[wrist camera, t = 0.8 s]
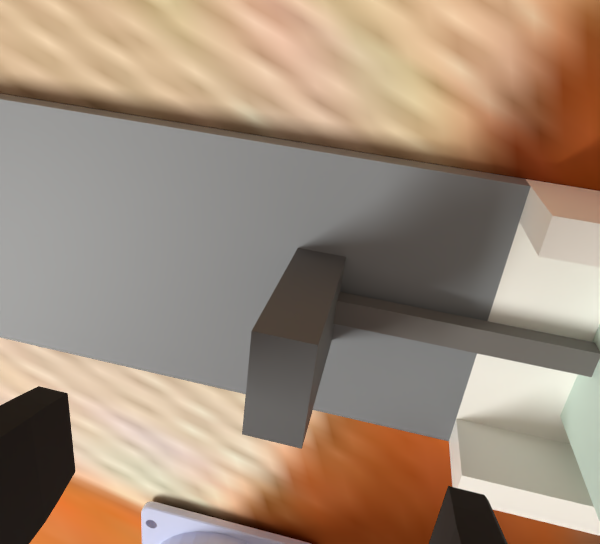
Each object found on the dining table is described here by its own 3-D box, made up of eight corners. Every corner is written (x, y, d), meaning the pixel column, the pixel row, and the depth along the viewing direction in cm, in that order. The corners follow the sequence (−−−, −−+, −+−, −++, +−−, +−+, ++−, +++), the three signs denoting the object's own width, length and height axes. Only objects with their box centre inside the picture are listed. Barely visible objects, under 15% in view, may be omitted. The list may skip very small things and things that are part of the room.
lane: (754, 495, 17) (824, 590, 14) (4, 324, 21) (-65, 372, 18) (930, 244, 13) (1077, 305, 10) (-33, 88, 17) (-128, 99, 14)
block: (730, 453, 16) (853, 618, 11) (284, 355, 18) (239, 463, 13) (821, 311, 14) (1019, 446, 9) (302, 216, 15) (255, 291, 11)
